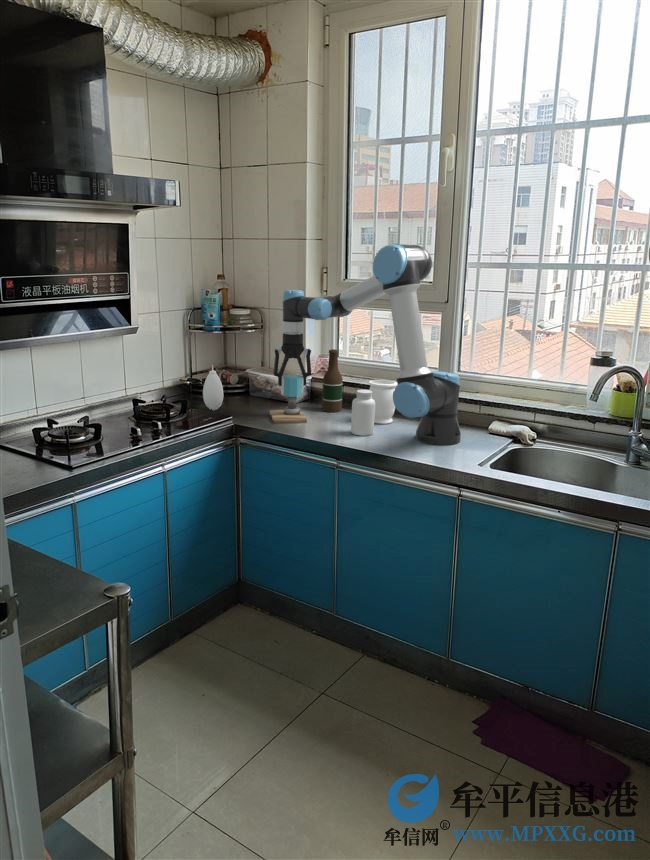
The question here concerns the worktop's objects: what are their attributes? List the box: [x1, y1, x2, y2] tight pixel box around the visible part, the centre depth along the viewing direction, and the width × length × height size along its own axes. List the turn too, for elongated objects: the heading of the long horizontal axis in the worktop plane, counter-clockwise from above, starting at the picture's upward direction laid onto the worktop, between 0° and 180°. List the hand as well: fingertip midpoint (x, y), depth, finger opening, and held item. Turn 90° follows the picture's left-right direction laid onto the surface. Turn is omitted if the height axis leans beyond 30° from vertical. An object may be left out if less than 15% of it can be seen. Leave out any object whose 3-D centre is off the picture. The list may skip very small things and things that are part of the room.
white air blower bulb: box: [202, 364, 224, 411], centre depth 257 cm, size 8×8×18 cm
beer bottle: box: [321, 349, 344, 413], centre depth 260 cm, size 8×8×24 cm
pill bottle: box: [350, 389, 375, 437], centre depth 230 cm, size 8×8×15 cm
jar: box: [368, 379, 398, 425], centre depth 246 cm, size 11×10×15 cm
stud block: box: [268, 397, 308, 424], centre depth 249 cm, size 16×12×9 cm
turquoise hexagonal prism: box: [282, 374, 302, 398], centre depth 249 cm, size 7×7×7 cm
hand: (292, 394), depth 250 cm, fingers closed on turquoise hexagonal prism, 7 cm apart
